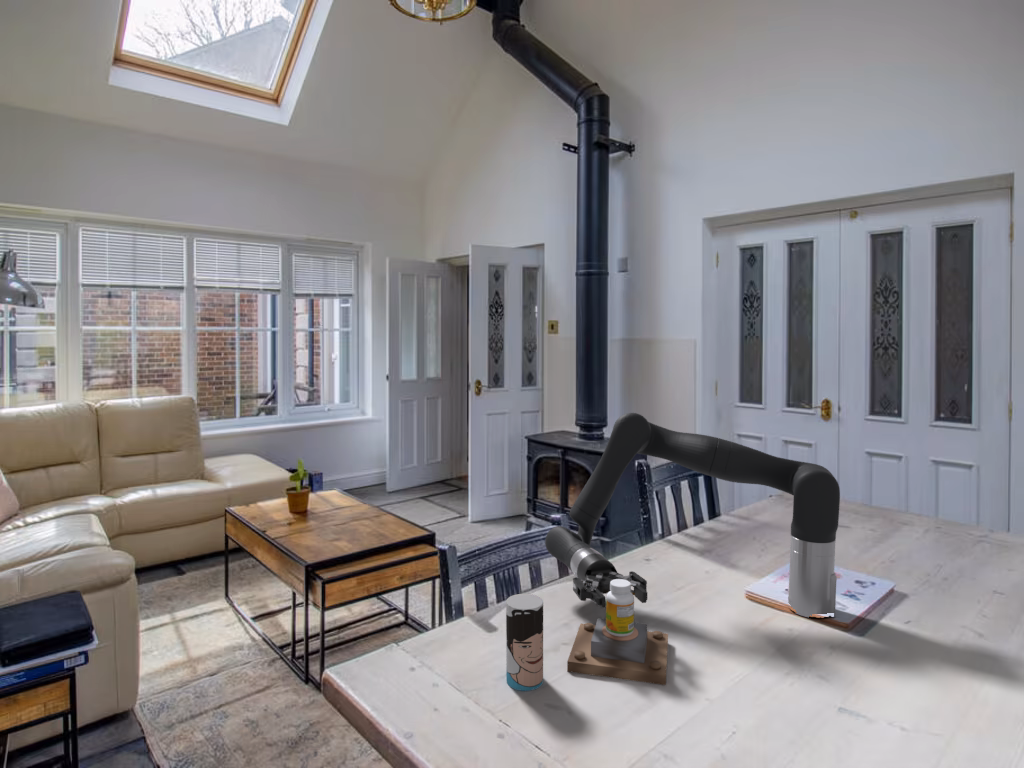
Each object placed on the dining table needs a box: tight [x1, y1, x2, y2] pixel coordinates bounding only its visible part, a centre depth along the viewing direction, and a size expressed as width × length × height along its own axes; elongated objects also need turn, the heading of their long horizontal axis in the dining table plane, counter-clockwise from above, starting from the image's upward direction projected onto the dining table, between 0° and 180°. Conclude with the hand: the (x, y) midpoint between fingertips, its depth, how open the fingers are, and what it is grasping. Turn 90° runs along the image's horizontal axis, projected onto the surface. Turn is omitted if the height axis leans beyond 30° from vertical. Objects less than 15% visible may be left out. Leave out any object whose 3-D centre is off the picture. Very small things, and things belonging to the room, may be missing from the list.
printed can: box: [505, 593, 544, 692], centre depth 116 cm, size 7×7×15 cm
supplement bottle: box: [605, 579, 635, 637], centre depth 124 cm, size 5×5×10 cm
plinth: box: [566, 617, 669, 686], centre depth 125 cm, size 18×16×5 cm
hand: (624, 600), depth 122 cm, fingers open, 8 cm apart
